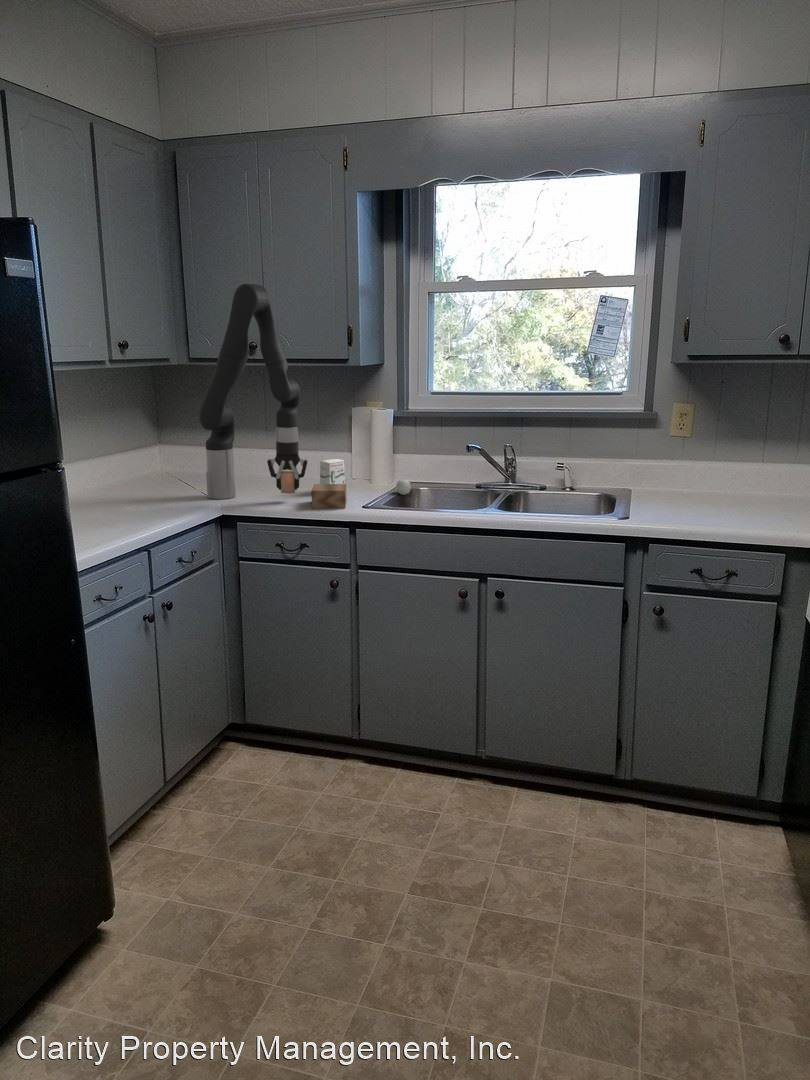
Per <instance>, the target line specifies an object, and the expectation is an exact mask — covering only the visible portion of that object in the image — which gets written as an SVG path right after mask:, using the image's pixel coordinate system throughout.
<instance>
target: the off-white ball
mask: <svg viewBox="0 0 810 1080" xmlns="http://www.w3.org/2000/svg"><path fill="white" fill-rule="evenodd" d="M395 485H396V491H397V493H398V494H399V495H403V496H405V495H407V494H409V493H410V492H411V487H412V486H411V484H410V481H409V480H407V478H400V479H398V480H397V481H396V483H395Z"/></svg>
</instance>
